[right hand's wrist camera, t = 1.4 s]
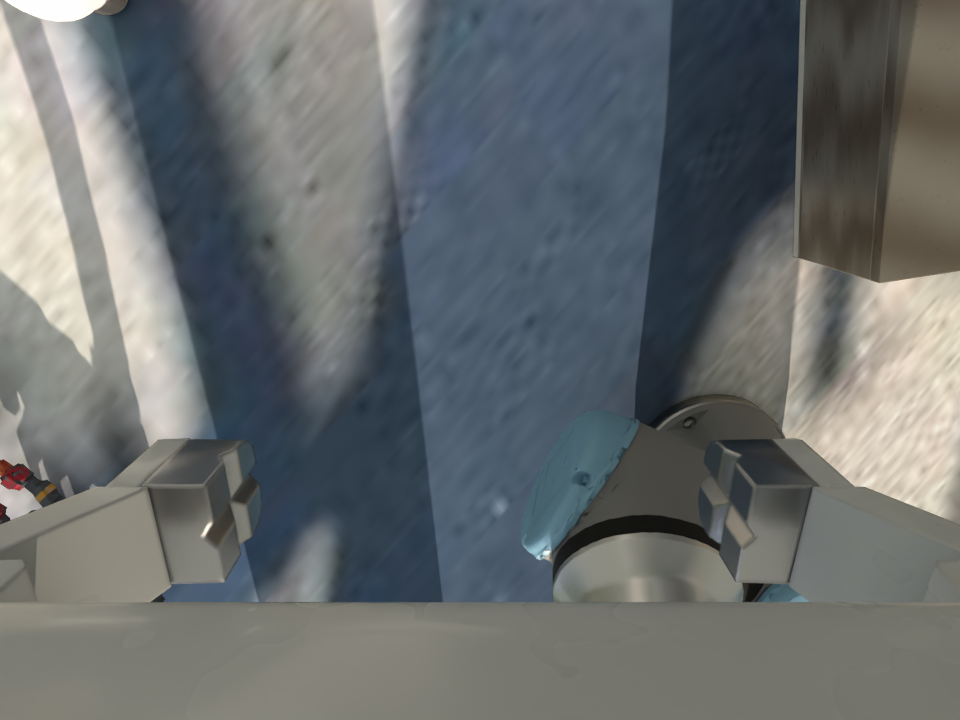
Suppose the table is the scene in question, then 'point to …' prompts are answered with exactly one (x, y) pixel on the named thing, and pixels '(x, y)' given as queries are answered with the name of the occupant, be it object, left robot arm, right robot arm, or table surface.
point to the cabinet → (879, 137)
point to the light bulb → (67, 8)
